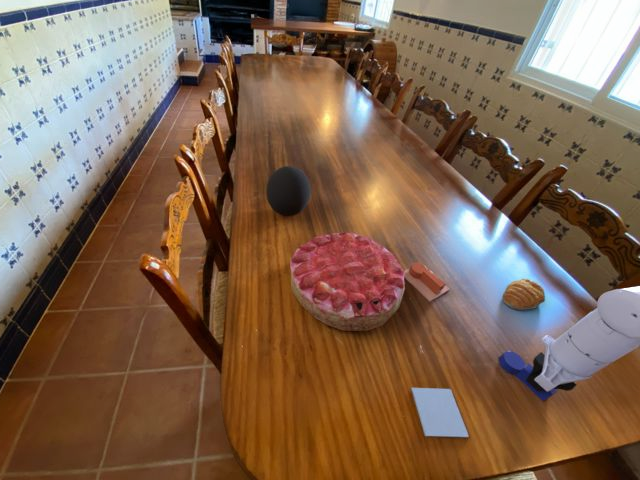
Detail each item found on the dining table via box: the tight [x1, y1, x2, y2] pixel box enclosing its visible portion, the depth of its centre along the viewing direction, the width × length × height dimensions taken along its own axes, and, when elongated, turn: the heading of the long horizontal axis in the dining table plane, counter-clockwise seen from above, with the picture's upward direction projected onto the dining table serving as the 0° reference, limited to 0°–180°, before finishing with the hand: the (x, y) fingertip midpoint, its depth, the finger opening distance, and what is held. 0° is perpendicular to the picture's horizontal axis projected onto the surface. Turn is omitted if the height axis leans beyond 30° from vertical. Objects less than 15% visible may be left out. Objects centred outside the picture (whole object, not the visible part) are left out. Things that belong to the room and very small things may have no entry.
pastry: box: [502, 278, 546, 311], centre depth 68 cm, size 9×7×4 cm
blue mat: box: [410, 387, 470, 439], centre depth 49 cm, size 7×7×1 cm
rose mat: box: [404, 267, 450, 303], centre depth 71 cm, size 9×7×1 cm
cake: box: [289, 231, 406, 332], centre depth 66 cm, size 25×25×8 cm
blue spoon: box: [498, 350, 559, 402], centre depth 54 cm, size 8×4×3 cm, turn 30°
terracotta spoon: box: [408, 261, 447, 295], centre depth 70 cm, size 8×4×3 cm, turn 30°
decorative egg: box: [265, 165, 312, 217], centre depth 83 cm, size 12×12×15 cm
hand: (536, 381), depth 53 cm, fingers closed on blue spoon, 2 cm apart
